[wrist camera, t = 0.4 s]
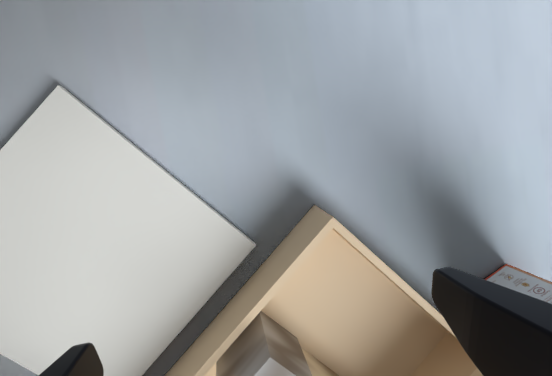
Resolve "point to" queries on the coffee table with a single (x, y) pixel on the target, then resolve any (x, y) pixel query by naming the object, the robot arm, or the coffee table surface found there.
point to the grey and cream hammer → (268, 353)
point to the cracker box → (522, 282)
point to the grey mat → (100, 244)
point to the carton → (335, 310)
